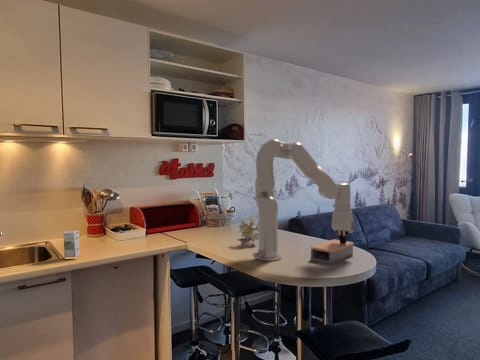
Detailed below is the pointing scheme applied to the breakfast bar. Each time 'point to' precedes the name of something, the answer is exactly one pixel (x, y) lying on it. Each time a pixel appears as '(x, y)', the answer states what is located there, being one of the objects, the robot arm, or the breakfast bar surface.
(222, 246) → the breakfast bar surface
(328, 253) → the grey plastic bar
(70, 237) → the syrup box
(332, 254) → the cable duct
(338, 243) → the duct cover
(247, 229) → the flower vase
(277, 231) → the robot arm
